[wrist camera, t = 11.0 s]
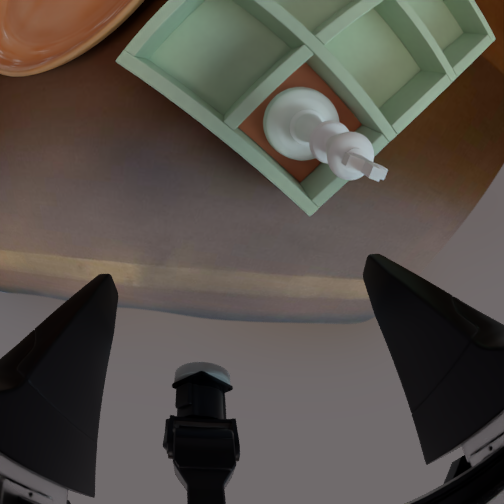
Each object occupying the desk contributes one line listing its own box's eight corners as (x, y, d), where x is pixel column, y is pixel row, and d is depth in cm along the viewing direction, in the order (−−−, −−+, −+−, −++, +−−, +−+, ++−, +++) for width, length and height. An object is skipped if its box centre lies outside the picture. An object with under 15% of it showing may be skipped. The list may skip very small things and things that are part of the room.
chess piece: (323, 167, 19) (397, 248, 10) (253, 148, 17) (284, 221, 9) (346, 101, 16) (448, 137, 8) (275, 77, 15) (335, 76, 7)
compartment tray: (296, 194, 20) (309, 217, 17) (133, 63, 14) (114, 61, 11) (467, 36, 13) (496, 39, 10) (350, -94, 6) (368, -111, 3)
